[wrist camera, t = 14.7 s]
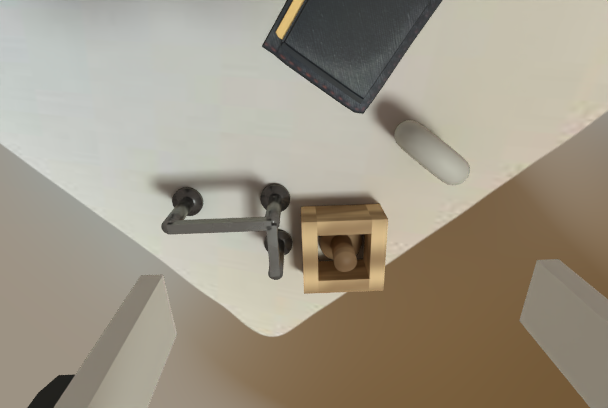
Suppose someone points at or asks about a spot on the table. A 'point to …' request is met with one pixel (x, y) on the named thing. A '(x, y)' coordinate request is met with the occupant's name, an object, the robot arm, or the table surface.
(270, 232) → the gray metal stand
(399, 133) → the donut
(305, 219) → the wooden square frame
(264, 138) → the table surface
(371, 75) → the dark grey book
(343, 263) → the peg stand
